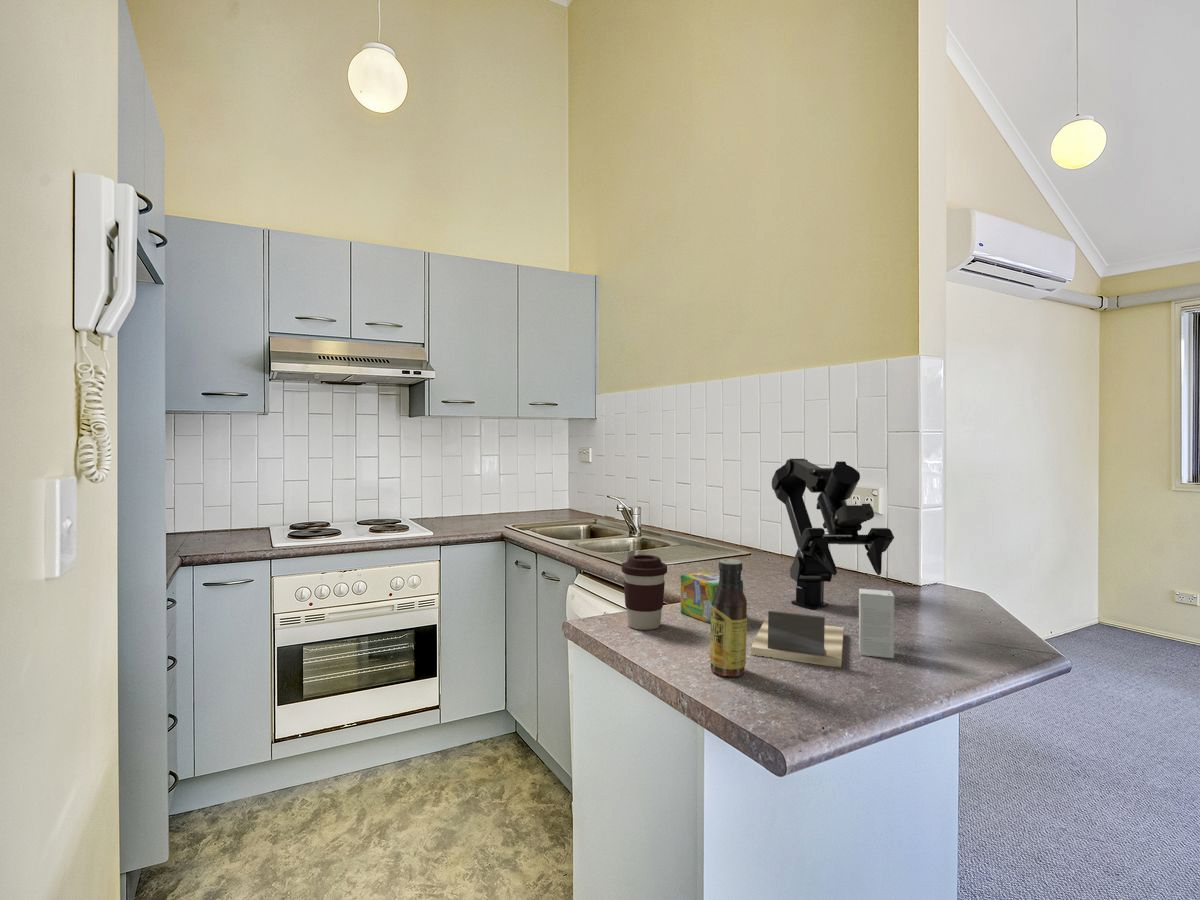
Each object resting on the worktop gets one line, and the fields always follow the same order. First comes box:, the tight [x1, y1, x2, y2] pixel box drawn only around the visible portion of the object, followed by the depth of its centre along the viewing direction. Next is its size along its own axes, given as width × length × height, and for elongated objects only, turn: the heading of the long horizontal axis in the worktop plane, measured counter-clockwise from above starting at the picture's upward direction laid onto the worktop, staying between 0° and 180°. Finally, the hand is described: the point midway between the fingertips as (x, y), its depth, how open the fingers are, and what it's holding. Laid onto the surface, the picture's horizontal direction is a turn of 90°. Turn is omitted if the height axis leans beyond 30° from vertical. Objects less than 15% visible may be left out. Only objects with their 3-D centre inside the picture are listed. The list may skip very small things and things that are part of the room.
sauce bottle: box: [709, 558, 748, 678], centre depth 108 cm, size 7×6×20 cm
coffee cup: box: [621, 554, 668, 631], centre depth 134 cm, size 10×10×15 cm
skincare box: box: [858, 588, 895, 659], centre depth 118 cm, size 6×4×12 cm
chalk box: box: [680, 570, 744, 625], centre depth 140 cm, size 9×9×15 cm
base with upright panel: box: [750, 610, 844, 669], centre depth 123 cm, size 20×16×8 cm
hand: (857, 574), depth 126 cm, fingers open, 9 cm apart
